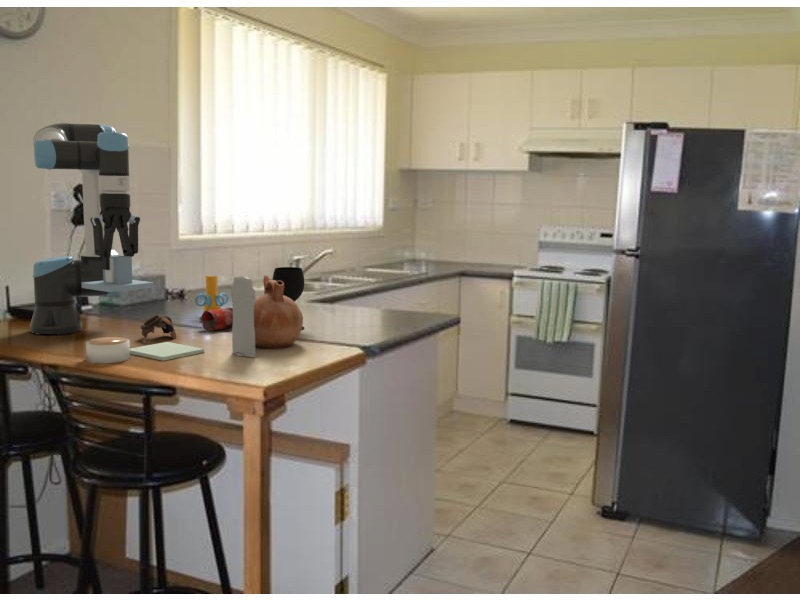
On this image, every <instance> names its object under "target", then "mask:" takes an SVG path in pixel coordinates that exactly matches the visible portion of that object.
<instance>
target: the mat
mask: <svg viewBox="0 0 800 600" xmlns="http://www.w3.org/2000/svg"><path fill="white" fill-rule="evenodd" d="M203 353H205V348H201V347H198V346H192V345H191V346H190V345H186V344H181V343H175V342H171V341H164V342H159V343H154V344H149V345H142V346H137V347H130V355H135V356H139V357H143V358H144V357H145V358H149V359H153V360H159V361H161V362H162V361H169V360H173V359H178V358H179V359H180V358H183V357H187V356H194V355H198V354H203Z"/></svg>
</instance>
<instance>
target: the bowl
mask: <svg viewBox="0 0 800 600" xmlns="http://www.w3.org/2000/svg"><path fill="white" fill-rule="evenodd" d="M130 348H131V340H130V339H128V338H127V337H120V336H119V337H118V336H106V337H105V336H103V337H96V338H92V339H90V340H89V339H88V340H87V341H86V342H85V353H86V354H85V357H86V358H85V359H86V362H88V363H91V364H92V363H93V364H115V363H121V362H125V361H128V360H130V359H131V354H130Z"/></svg>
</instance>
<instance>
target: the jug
mask: <svg viewBox="0 0 800 600" xmlns="http://www.w3.org/2000/svg"><path fill="white" fill-rule="evenodd" d="M262 282H263V288H264V289H263V290H264V292H263V294H260V295H258V296H255V305H254V330H255V348H257V349H264V350H275V349H276V350H278V349H285V348H290V347H292V346H293V345H294V343H296V340H297V339H298V337H299V335H300V334H301V332H302V331H303V330H302V326H303V324H304V316H303V314H302V311H301V309H300V308H299V306H298V304H297V303H296V301H295V302H294V301H293V300H292V299H290V298H288V297H286V296H284V295H283V291H284V283H283V282H282V281H275V280H272V279H270V277H269V276H268V275H266V274H264V276H263V280H262Z"/></svg>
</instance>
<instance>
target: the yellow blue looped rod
mask: <svg viewBox="0 0 800 600" xmlns="http://www.w3.org/2000/svg"><path fill="white" fill-rule="evenodd" d="M218 291H219V290H218V275H217V274H206V275H205V292H201V293H200V294H197V295H196V296H195V298H194V303H195V304H196V306H198V307H203V312H202V314H203V313H204V311H210V310H217V309H222V308H221V307H223V306H224V305H226V304H227V303H228V302H229V295H228V294H227V293H225V292H220V293H218ZM224 296H225V297H226V299H225V297H224ZM198 298H199V301H200V303H199V302H198ZM203 299H204V300H203ZM220 299H221V301H220Z"/></svg>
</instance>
